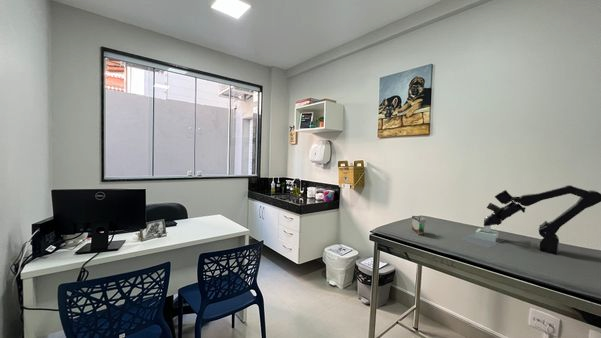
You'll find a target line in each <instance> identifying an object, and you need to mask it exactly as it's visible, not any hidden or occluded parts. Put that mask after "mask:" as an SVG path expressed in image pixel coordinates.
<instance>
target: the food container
mask: <svg viewBox="0 0 601 338" xmlns="http://www.w3.org/2000/svg"><path fill="white" fill-rule="evenodd" d="M426 220H427V219H426V218H425V217H422V216H419V215H411V231H412V232H413V233H415V234H416V235H417V236H423V235H424V233H425V232H424V231H425V225H426V223H427V221H426Z"/></svg>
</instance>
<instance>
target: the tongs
mask: <svg viewBox="0 0 601 338" xmlns="http://www.w3.org/2000/svg"><path fill="white" fill-rule="evenodd" d="M489 216H490V215H487V216H485V217H484V220H483V229H484V233H489V234H490V230H491V228H492V227H491V226H492V225H489V226H484V224H485V223H486V222H487V221H488V220H489Z"/></svg>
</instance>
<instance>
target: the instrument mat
mask: <svg viewBox="0 0 601 338" xmlns="http://www.w3.org/2000/svg"><path fill="white" fill-rule="evenodd" d="M457 240H458V241H462V242H466V243H469V244H472V245H477V246H480V247H483V248H487V249H490V248H492V247H493V246H495V245H497V244H500V243H502V242H504V241H506V238H503V237H498V239H497V240H496V242H492V241H488V240H483V239H478V238H475V232H473V233H471V234H470V233H469V234H468V235H465V236H462V237H460V238H458V239H457Z"/></svg>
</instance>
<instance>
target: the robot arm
mask: <svg viewBox="0 0 601 338" xmlns="http://www.w3.org/2000/svg"><path fill="white" fill-rule="evenodd" d="M569 194H570V195H572V196H573V195H574V196H577V197H579V199H578V200H577V201H576V203H574V204H573V205H572V206H570V207H569V208H568V209H566V210H565V211H563V212H562V213H561V214H560V215H558V216H557V217H556V218H554V219H553V220H551V221H547V220H545V221H543V223H541V224H539V227H538V234H539V236H540V237H542V239H541V240H540V241H539V251H541V252H545V253H549V254H552V255H558V254H559V253H560V251H559V250H560V239H559V236H558V235H557V232H559V229H561V227H562V226H564V225H565V224H566V223H568V222H569V221H571V220H572V219H573V218H575V217H576V216H577V215H579V214H580V213H581V212H583V211H584V210H585V209H588V208H591V207H593V206H595V205H597V204H599V203H601V192H598V191H596V190H594V189H593V190H590V189H589V190H587V189H582V188H579V187H576V186H573V185H571V184H570V185H565V186H561V187H559V188H558V187H557V188H555V189H554V188H553V189H551V190H547V191H543V192H538V193H529V194H523V195H520V196H513V195H511V193H509V192H508V191H507V189H504V190H503V191H501V192H499V193H498V194H496V195H495V196H494V198H495V199H496V200H497V201H498V202H499V203H501V204H502V205H505V206H501V207H499V206H498V205H496V204H494V203H492V202H489V203H488V205H487V206H486V209H487V210H490V211H493V212H492V213H491V214H490V215H488V216H489V220H488V221H487V222H486V223H485V224H484V223H483V227H484V226H489V225H491V226H495V225H497V226H500V225H502V222H503V221H505V220H506V219H508V218H510V217H512V216H513V215H514V214H517V213H518V212H520V211H521V213H526V207H530V206H532V205H535V204H537V203H540V202H541V201H544V200H549V199H553V198H557V197H561V196H565V195H569Z"/></svg>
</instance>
